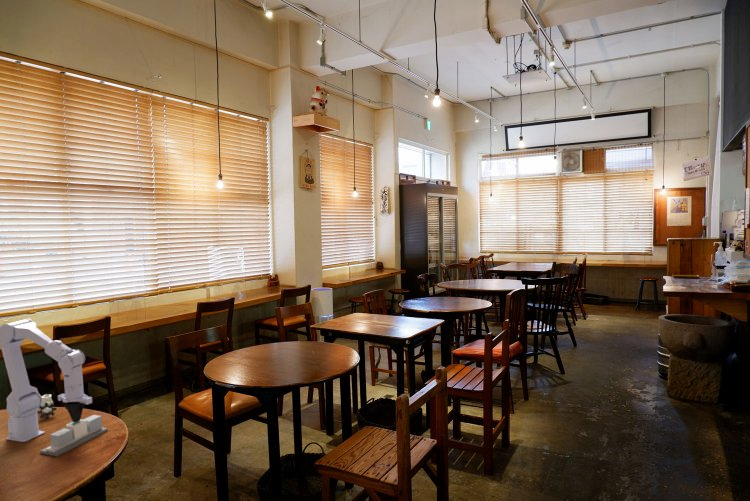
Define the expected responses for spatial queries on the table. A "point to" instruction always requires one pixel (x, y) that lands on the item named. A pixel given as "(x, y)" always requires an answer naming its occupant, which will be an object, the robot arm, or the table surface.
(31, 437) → the robot arm
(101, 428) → the board
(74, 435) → the cream module
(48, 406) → the valve
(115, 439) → the table surface
